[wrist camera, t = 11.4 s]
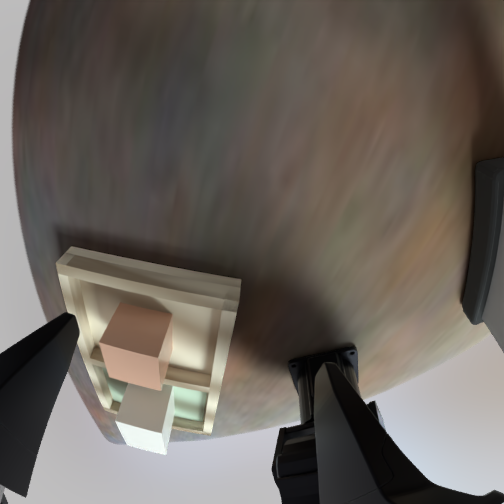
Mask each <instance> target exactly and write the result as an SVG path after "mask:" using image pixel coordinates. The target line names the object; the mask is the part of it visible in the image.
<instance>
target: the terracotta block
mask: <svg viewBox="0 0 504 504" xmlns="http://www.w3.org/2000/svg"><path fill="white" fill-rule="evenodd" d="M99 344H100V348H101V352H102V355H103V359H104V362H105V365H106V369H107V372H108V375H109V377H110V378H114V379H117V380H121V381H124V382H128V383H131V384H135V385H139V386H142V387H146V388H150V389H155V390H159V391H161V390H162V386H163V382H164V379H165V375H166V372H167V368H168V364H169V361H170V357H171V354H172V350H173V314H170V313H165V312H160V311H156V310H151V309H147V308H142V307H138V306H134V305H129V304H125V303H121V302H120V304H119V305H118V307H117V309H116V311H115V313H114V315H113V316H112V318H111V320H110V322H109V324H108V326H107V328H106V330H105V331H104V333H103V335H102V337H101V339H100V341H99Z"/></svg>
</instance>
